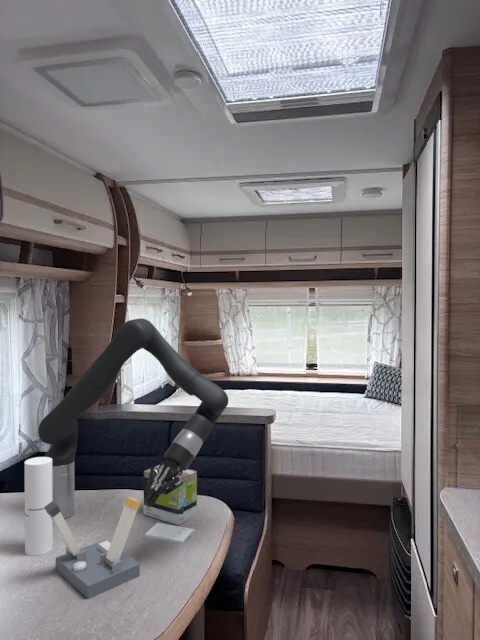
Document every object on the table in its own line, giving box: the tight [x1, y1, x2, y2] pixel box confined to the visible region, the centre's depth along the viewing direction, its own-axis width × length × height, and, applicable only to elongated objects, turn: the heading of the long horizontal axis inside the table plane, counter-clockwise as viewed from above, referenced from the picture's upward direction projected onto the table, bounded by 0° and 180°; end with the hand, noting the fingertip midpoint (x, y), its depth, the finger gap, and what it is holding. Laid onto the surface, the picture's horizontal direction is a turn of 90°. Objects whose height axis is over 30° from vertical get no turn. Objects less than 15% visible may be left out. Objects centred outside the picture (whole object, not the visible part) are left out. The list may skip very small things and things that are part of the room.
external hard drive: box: [144, 522, 196, 545], centre depth 146 cm, size 2×8×12 cm
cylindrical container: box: [24, 456, 54, 557], centre depth 136 cm, size 7×7×25 cm
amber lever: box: [104, 496, 141, 567], centre depth 124 cm, size 4×2×16 cm, turn 44°
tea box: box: [143, 464, 198, 526], centre depth 159 cm, size 15×10×15 cm
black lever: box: [44, 502, 81, 556], centre depth 124 cm, size 4×2×16 cm, turn 45°
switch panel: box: [55, 539, 141, 600], centre depth 125 cm, size 18×14×5 cm
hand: (147, 504), depth 129 cm, fingers closed
